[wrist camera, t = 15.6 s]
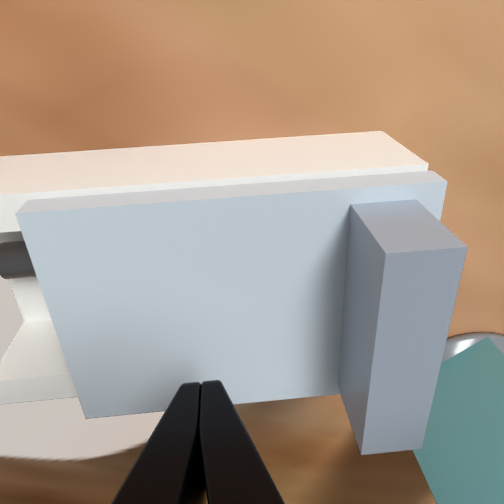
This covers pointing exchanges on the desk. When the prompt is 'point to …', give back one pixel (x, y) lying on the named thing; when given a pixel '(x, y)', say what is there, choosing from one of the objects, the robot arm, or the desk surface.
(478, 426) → the teal box
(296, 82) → the desk surface
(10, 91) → the desk surface
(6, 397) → the white channel beam
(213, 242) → the cover
